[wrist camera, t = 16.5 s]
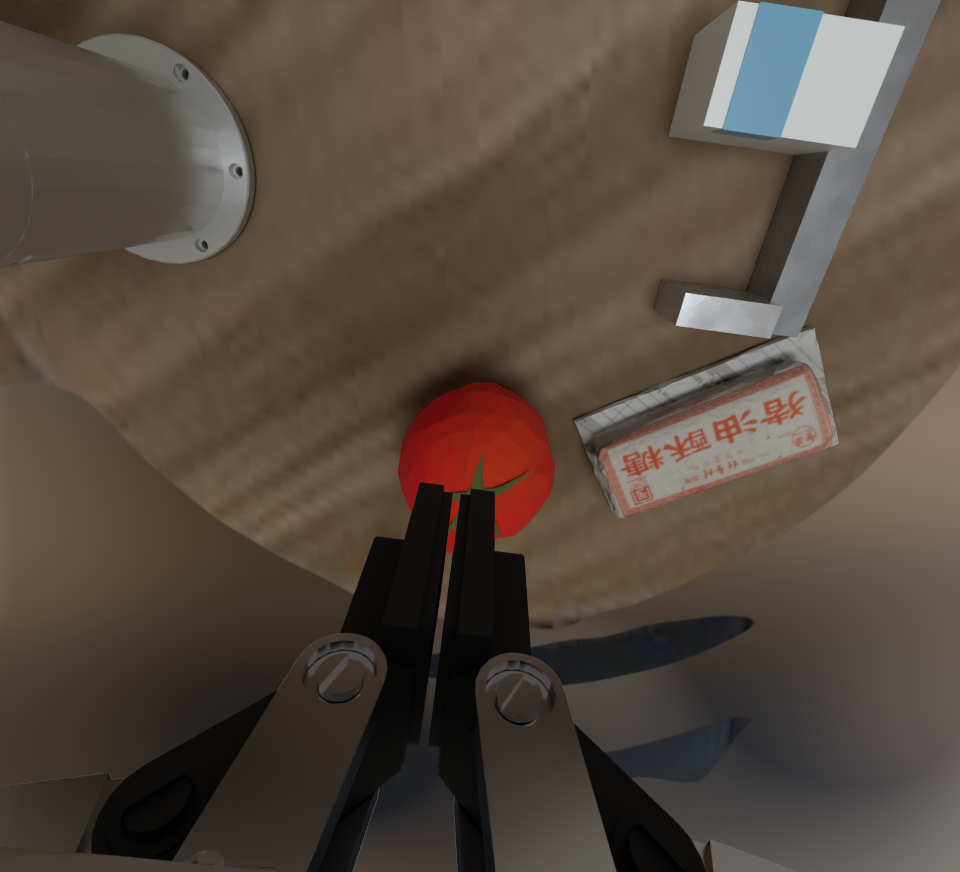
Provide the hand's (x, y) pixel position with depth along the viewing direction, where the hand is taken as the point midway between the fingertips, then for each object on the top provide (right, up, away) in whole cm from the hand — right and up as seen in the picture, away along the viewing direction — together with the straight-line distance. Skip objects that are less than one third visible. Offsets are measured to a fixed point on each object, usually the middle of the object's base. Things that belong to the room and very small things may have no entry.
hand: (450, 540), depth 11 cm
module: (+17, +23, +19) cm, 34 cm away
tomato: (+1, +2, +29) cm, 29 cm away
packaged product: (+18, +3, +29) cm, 34 cm away
